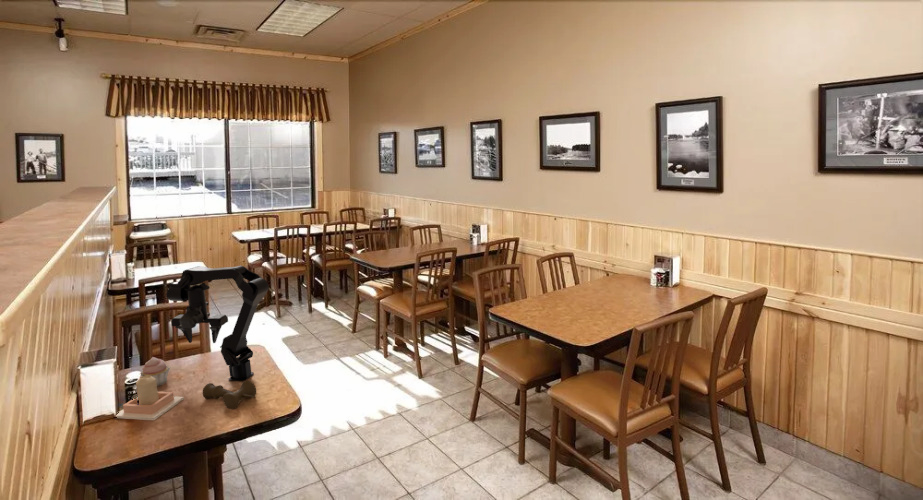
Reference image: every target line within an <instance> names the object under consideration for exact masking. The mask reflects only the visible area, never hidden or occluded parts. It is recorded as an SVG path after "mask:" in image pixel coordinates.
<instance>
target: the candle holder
mask: <svg viewBox="0 0 923 500" xmlns="http://www.w3.org/2000/svg"><path fill="white" fill-rule="evenodd" d="M158 397H159V400H158V401H156V402H155V403H153V404H152V405H137V404H138V403H137V398H136V399H134V398H132V399H133V400H132V399H130V400H129V401H128V402H126V403H124V404H122V409H121V410H119V411H118V412H119V413H118V412H117V413H118V414H117V415H116V417H117V418H116V419H128V420H141V421H142V420H143V421H155V420H157V419H159V417H161V416H163V415H164V414H165V413H166V412H168V411H169V410H171V409H173V408H174V407H175V406H176V405H178V404H179V403H180V402H182V401H183V400H184V399H185V398H184V396H174V392H172V391H158Z"/></svg>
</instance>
